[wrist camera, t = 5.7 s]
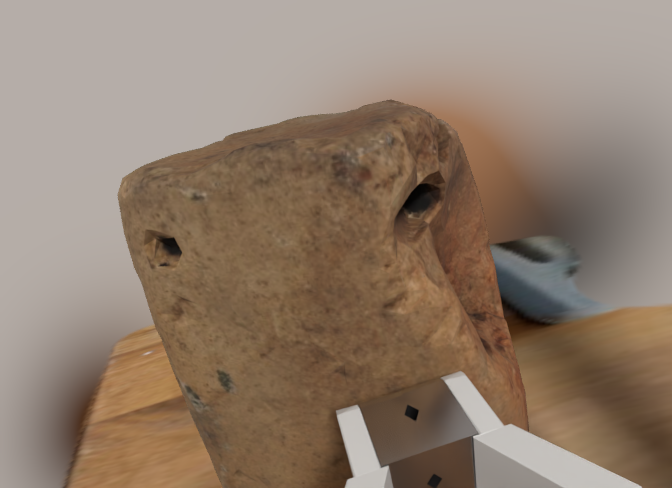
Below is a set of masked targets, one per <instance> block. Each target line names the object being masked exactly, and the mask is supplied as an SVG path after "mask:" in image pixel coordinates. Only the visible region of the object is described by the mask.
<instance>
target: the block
mask: <svg viewBox="0 0 672 488" xmlns="http://www.w3.org/2000/svg"><path fill="white" fill-rule="evenodd" d="M118 200H119V206H120V212H121V218H122V223H123V229H124V234H125V237H126V241H127V244H128V248H129V251H130V255H131V258H132V261H133V265H134V268H135V270H136V272H137V274H138V276H139V278H140V280H141V282H142V285H143V288H144V292H145V295H146V299H147V302H148V305H149V308H150V312H151V315H152V318H153V321H154V324H155V327H156V330H157V331H158V333H159V335H160V337H161V339H162V342H163V345H164V348H165V350H166V353H167V356H168V358H169V361H170V364H171V367H172V369H173V372H174V374H175V377H176V379H177V381H178V384H179V386H180V388H181V391H182V393H183V396H184V398H185V401H186V403H187V406H188V408H189V411H190V413H191V415H192V418H193V420H194V422H195V424H196V427H197V429H198V431H199V434H200V436H201V438H202V440H203V442H204V444H205V446H206V449H207V451H208V453H209V455H210V458H211V460H212V463H213V465H214V468H215V470H216V473H217V476H218V478H219V480H220V482H221V484H222V486H223V488H345V485H346V482H347V479H350V478H353V476H352V472H351V468H350V464H349V461H348V457H347V453H346V449H345V445H344V442H343V438H342V434H341V430H340V426H339V422H338V419H337V414H336V410H340V409H343V408H347V407H350V406H354V405H358V404H359V403H362V402H366V401H369V400H373V399H376V398H380V397H383V396H386V395H390V394H393V393H397V392H399V391H402V390H405V389H408V388H411V387H414V386H417V385H420V384H423V383H426V382H429V381H432V380H435V379H438V378H439V379H440V378H441V377H444V376H447V375H450V374H453V373H456V372H459V371H461V372H463V373H465V375H466V376H467V377H468V378H469V380H470V381H471V382H472V384H473V385H474V386H475V388H476V389H477V390H478V392H479V393H480V394H481V396H482V397H483V398H484V400H485V401H486V402H487V403H488V405H489V406H490V407H491V409H492V410H493V411H494V413H495V414H496V415H497V417H498V418H499V419H500V421H501V422H502V423H503V425H504V426H505V425H508V424H512V425H515V426H517V427H519V428H521V429H523V430H525V431H527V432H529V424H528V416H527V405H526V394H525V389H524V386H523V383H522V378H521V374H520V369H519V365H518V362H517V359H516V355H515V352H514V348H513V344H512V340H511V337H510V333H509V329H508V326H507V322H506V320H505V319H504V315H503V309H502V303H501V297H500V292H499V288H498V282H497V275H496V268H495V264H494V261H493V257H492V254H491V250H490V247H489V235H488V230H487V225H486V221H485V217H484V212H483V209H482V205H481V201H480V197H479V193H478V189H477V186H476V183H475V181H474V178H473V175H472V172H471V169H470V166H469V163H468V160H467V157H466V154H465V151H464V148H463V145H462V143H461V142H460V139H459V136H458V133H457V132H456V131H455V130H454V129H453V128H452V127H451V126H450V125H449V124H448V123H446V122H444V121H443V120H441V119H437V118H436V117H435V116H434V115H433V114H432V113H429V112H427V111H425V110H423V109H421V108H418V107H414V106H411V105H408V104H404V103H401V102H398V101H394V100H387V101H382V102H377V103H373V104H369V105H365V106H362V107H360V108H358V109H356V110H352V111H348V112H343V113H336V114H320V115H310V116H303V117H297V118H293V119H289V120H286V121H283V122H280V123H278V124H273V125H269V126H265V127H260V128H256V129H251V130H247V131H242V132H238V133H234V134H231V135H229V136H226V137H225V138H224V140H223V141H218V142H215V143H213V144H210V145H208V146H206V147H203V148H200V149H195V150H191V151H187V152H182V153H178V154H174V155H171V156H168V157H165V158H162V159H160V160H157V161H154V162H151V163H149V164H146V165H144V166H142V167H140V168H138V169H136V170H135V171H133V172H132V173H130V174H128V175H127V176H125V177H124V178H123V179H122V183H121V185H120V188H119V192H118Z"/></svg>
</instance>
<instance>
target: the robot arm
mask: <svg viewBox="0 0 672 488" xmlns="http://www.w3.org/2000/svg"><path fill="white" fill-rule="evenodd" d="M336 414H337V419H338V422H339V426H340V430H341V434H342V438H343V442H344V445H345V449H346V453H347V457H348V461H349V464H350V468H351V472H352V476H353V478H350V479H347V482H346V485H345V488H642V487H641V486H640V485H638V484H636V483H633V482H631V481H629V480H627V479H625V478H623V477H621V476H619V475H617V474H615V473H613V472H611V471H608V470H606V469H604V468H602V467H600V466H598V465H596V464H594V463H592V462H590V461H588V460H585V459H583V458H581V457H579V456H577V455H575V454H573V453H571V452H569V451H567V450H565V449H563V448H560V447H558V446H556V445H554V444H552V443H550V442H548V441H546V440H544V439H542V438H540V437H538V436H535V435H533V434H531V433H529V432H527V431H525V430H523V429H521V428H519V427H517V426H515V425H512V424H508V425H505V426H504V425H503V423H502V422H501V421H500V419H499V418H498V417H497V415H496V414H495V413H494V411H493V410H492V409H491V407H490V406H489V405H488V403H487V402H486V401H485V400H484V398H483V397H482V396H481V394H480V393H479V392H478V390H477V389H476V388H475V386H474V385H473V384H472V382H471V381H470V380H469V378H468V377H467V376H466V375H465V373H463V372H461V371H459V372H456V373H453V374H450V375H447V376H444V377H441V378H440V379H439V378H438V379H435V380H432V381H429V382H426V383H423V384H420V385H417V386H414V387H411V388H408V389H405V390H402V391H399V392H397V393H393V394H390V395H386V396H383V397H380V398H376V399H373V400H369V401H366V402H362V403H359V404H358V405H354V406H350V407H347V408H343V409H340V410H336Z"/></svg>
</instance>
